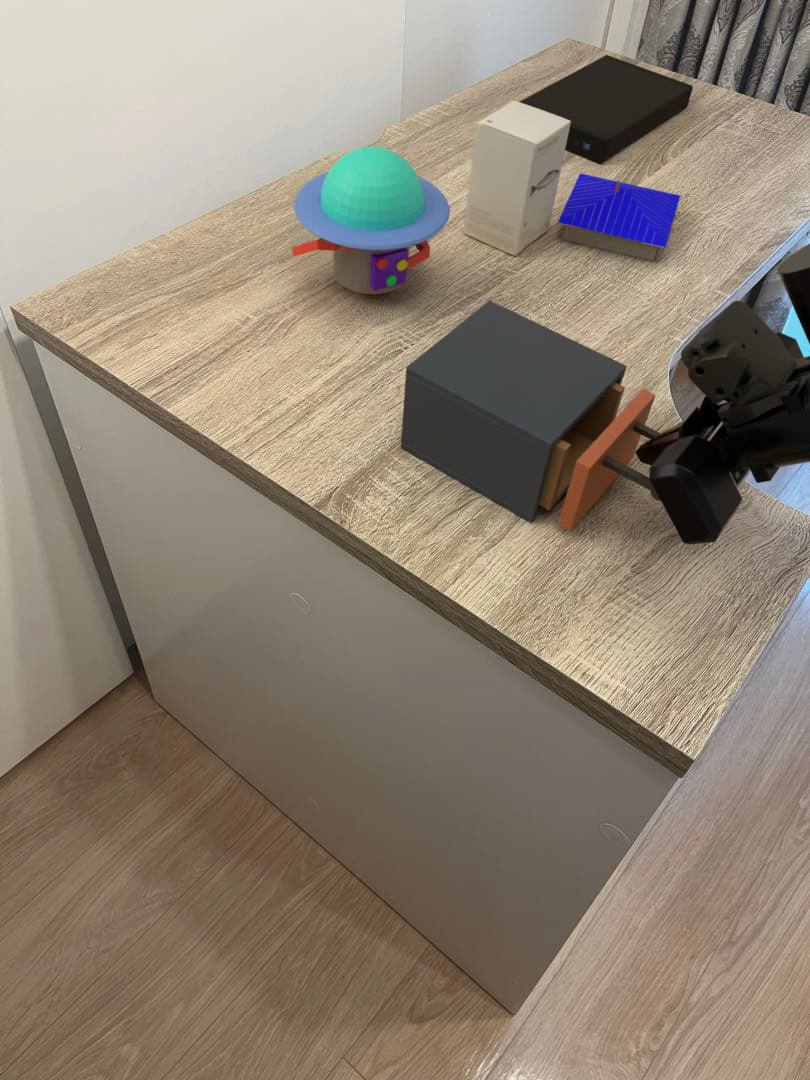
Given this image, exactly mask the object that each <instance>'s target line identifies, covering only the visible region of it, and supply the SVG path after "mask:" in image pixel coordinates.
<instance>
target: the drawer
mask: <svg viewBox="0 0 810 1080" xmlns="http://www.w3.org/2000/svg"><path fill="white" fill-rule="evenodd" d="M625 389H626V387H625V386H624V385H623V384H621V385H620V384H618V383H616V382H615V383H614V384H613V385H612V386H611V387H610V388H609V389H608V391H607V392H606V393H605V394H604V395H603V396H602V397H601V398H600V399H599V400H598V401H597V402H596V403H595V404H594V405H593V406H592V407H591V408H590V409H589V410H588V411H587V412H586V413H585V415H584V416H583V417H582V418H581V419H580V420H579V421H578V422H577V423H576V424H575V425H574V426H573V427H572V428H571V429H570V430H569V431H568V432H567V433H566V434H565V435H564V436H563V437H562V438H561V440H560V441H559V442H558V443H557V444H556V445H555V446H554V448H553V452H552V456H551V460H550V464H549V468H548V471H547V475H546V479H545V483H544V487H543V491H542V494H541V498H540V502H539V505H541V506H542V507H544V509H546V510H547V511H550V510H551V509H552V508H553V507H554V505H556V503H557V502H558V501H559V500H560V499H561V498H562V497H563V495H565V493H566V495H565V498H564V502H563V505H562V509H561V512H560V515H559V518H558V522H557V524H558V526H560V527H562V528H564V529H566V530H567V531H569V532H571V531H572V530H573V529H574V528H575V527H576V525H577V524H578V523H579V522H580V521H581V520H582V519H583V517H584V516H585V515H586V514H587V513H588V512H589V510H590V509H591V508H592V507H593V505H595V504H596V502H597V501H598V500H599V498H601V496H602V495H603V494H604V493H605V492H606V491H607V489H608V488H609V487H610V486H611V485H612V484H613V482H615V481H616V479H617V478H618V477H619V476H622V477H623V478H626V479H627V480H630V481H631V482H633V483H636V484H637V485H639V486H641V487H643V488H644V489H646V490H648V491H649V493H650V496H651V497H652V499H654V500H655V501H657V502H661V501H660V499H659V497H658V495H657V493H656V491H655V489H654V487H653V486H652V484H651V482H650V480H649V476H647V475H645V474H644V473H641V472H640V471H637V470H636V469H635V468H632V467H630V466H628V465H629V464H630V462H632V460H633V459H634V456H635V454H636V450H637V449H638V445H639V442H640V439H641V437H642V436H643V437H644V438H647V439H649V440H651V439H652V438H654V437H656V436H658V435H659V434H661V433H662V432H659V431H657V430H656V429H653V428H651V427H649V426H647V425H646V423H647V420H648V417H649V415H650V412H651V410H652V406H653V404H654V401H655V398H656V394H655V393H653V392H651V391H648V390H647V389H645V388H642V389H641V390H640V391H638V393H637V394H636V395H635V396H634V398H633V399H632V400H631V401H629V403H628V404H627V405H626V406H625V407H624V408H623V409H622V410H621V412H620V413H619V414H618V415H617V413H618V411H619V408H620V404H621V402H622V399H623V395H624V392H625Z"/></svg>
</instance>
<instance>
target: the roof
mask: <svg viewBox="0 0 810 1080" xmlns="http://www.w3.org/2000/svg"><path fill="white" fill-rule="evenodd" d="M680 198H681V195H680V194H675V193H671V192H665V191H661V190H657V189H652V188H649V187H644V186H639V185H635V184H630V183H626V182H621V181H617V180H612V179H608V178H604V177H599V176H595V175H590V174H585V173H581V172H580V173H579V175H578V177H577V179H576V182H575V183H574V185H573V188H572V190H571V192H570V194H569V196H568V198H567V201H566V202H565V205H564V208H563V210H562V212H561V214H560V217H559V219H558V220H557V224H558V225H563V226H564V231H563V236H562V240H563V241H567V242H572V243H576V244H580V245H584V246H588V247H593V248H596V249H602V250H604V251H610V252H613V253H618V254H622V255H626V256H631V257H633V258H634V257H635V258H639V259H643V260H646V261H647V260H648V261H652V262H653V261H654V260H655V256H656V253H657V250H658V248H662V249H666V247H667V243H668V241H669V236H670V233H671V230H672V226H673V223H674V220H675V216H676V213H677V209H678V205H679V202H680Z"/></svg>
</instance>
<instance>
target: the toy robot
mask: <svg viewBox="0 0 810 1080" xmlns="http://www.w3.org/2000/svg"><path fill="white" fill-rule="evenodd" d="M293 203H294V204H293V208H294V213H295V216H296V218H297V219H298V221H299V222H300V224H302V226H304V227H305V228H306V230H307V231H309V232H310V233H312V235H314V236H316V237H318V238H317V239H315V240H311V241H308V242H304V243H301V244H299V245H295V246H293V247H292V257H298V256H301V255H305V254H308V253H312V252H314V251H328V252H329V251H331V252H332V254H333V255H332V257H333V258H332V259H333V261H332V262H333V276H334V279H335V280H336V281H337V283H339V284H340V285H341V286H342V287H344V288H346V289H348V290H350V291H352V292H356V293H358V294H359V293H360V294H362V295H367V296H375V295H381V294H385V293H389V292H392V291H395V290H397V289H399V288H400V287H402V286H403V285H404V284H405V283H407V279H408V272H409V271H408V270H410V269H412V268H414V267H415V266H417V265H418V264H420V263H422V262H424V261H425V260H428V259H429V258H430V257H431V256H430V255H431V246H430V245H429V243H428V241H429V240H430V239H432V238H433V237H435V236H436V235H437V234H439V232H441V231H442V230H443V229H444V227H445V226H446V225H447V224H448V221H449V218H450V214H451V209H450V208H451V207H450V204H449V202H448V199H447V198H446V196H445V195H444V193H443V192H442V191H441V190H440V188H438V187H437V186H436V185H434V184H433V183H432V182H430V181H428V180H427V179H425V178H423V177H421V176H420V175H418V174H417V172H416V170H415V169H414V168H413V167H412V166H411V164H410V163H409V162H408V160H406V159H405V158H404V157H402V156H401V155H399V154H398V153H397V152H395V151H394V150H390V149H387V148H384V147H380V146H364V147H359V148H355V149H353V150H351V151H349V152H347V153H345V154H344V155H342V156H341V157H340V158H338V160H337V161H336V162H334V164H333V165H332V166H331V167H330V169H329V170H328V171H327V172H323V173H321V174H319V175H317V176H315V177H313V178H312V179H310V180H309V181H308V182H306V183H305V184H303V186H302V187H301V188H300V190H299V191H298V192H297V194H296V196H295V198H294V201H293ZM410 247H415V248H416V249H417V252H415V253H414V254H411V255H410Z"/></svg>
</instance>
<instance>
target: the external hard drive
mask: <svg viewBox="0 0 810 1080" xmlns="http://www.w3.org/2000/svg"><path fill="white" fill-rule="evenodd" d="M693 89H694V86H693V85H692V84H689V83H686V82H683V81H680V80H678V79H675V78H672V77H669V76H666V75H664V74H661V73H658V72H655V71H654V70H653V71H652V70H650V69H647V68H645V67H642V66H639V65H636V64H634V63H632V62H628V61H625V60H622V59H620V58H617V57H614V56H611V55H608V54H606V55H603V56H602V57H600V58H598V59H596V60H594V61H592V62H590V63H588V64H587V65H584V66H583V67H581V68H579V69H578V70H576V71H574V72H572V73H570V74H568V75H566V76H564V77H562V78H560V79H559V80H557V81H555V82H553V83H551V84H549V85H548V86H545V87H544V88H541V89H540V90H538V91H537V92H535V93H533V94H531V95H529V96H527V97H525V98H523V99H521V100H519V102H520V103H523V104H526V105H529V106H532V107H534V108H537V109H540V110H543V111H546V112H548V113H551V114H554V115H557V116H559V117H562V118H565V119H567V120H570V121H571V124H570V128H569V133H568V138H567V143H566V147H565V151H567V152H569V153H572V154H574V155H577V156H579V157H582V158H584V159H586V160H589V161H591V162H593V163H595V164H598V165H601V164H603V163H604V162H606V161H608V160H609V159H610V158H612V157H614V156H615V155H617V154H618V153H620V152H621V151H622V150H625V149H626V148H627V147H629V146H630V145H632V144H633V143H634V142H636V141H638V140H640V139H641V138H642V137H644V136H645V135H647V134H648V133H651V132H652V131H653V130H654V129H656V128H657V127H660V126H661V125H662V124H664V123H665V122H667V121H668V120H670V119H671V118H673V117H674V116H676V115H677V114H679V113H680V112H682V111H683V110H686V109H687V108H688V106H689V103H690V99H691V96H692V92H693Z"/></svg>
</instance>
